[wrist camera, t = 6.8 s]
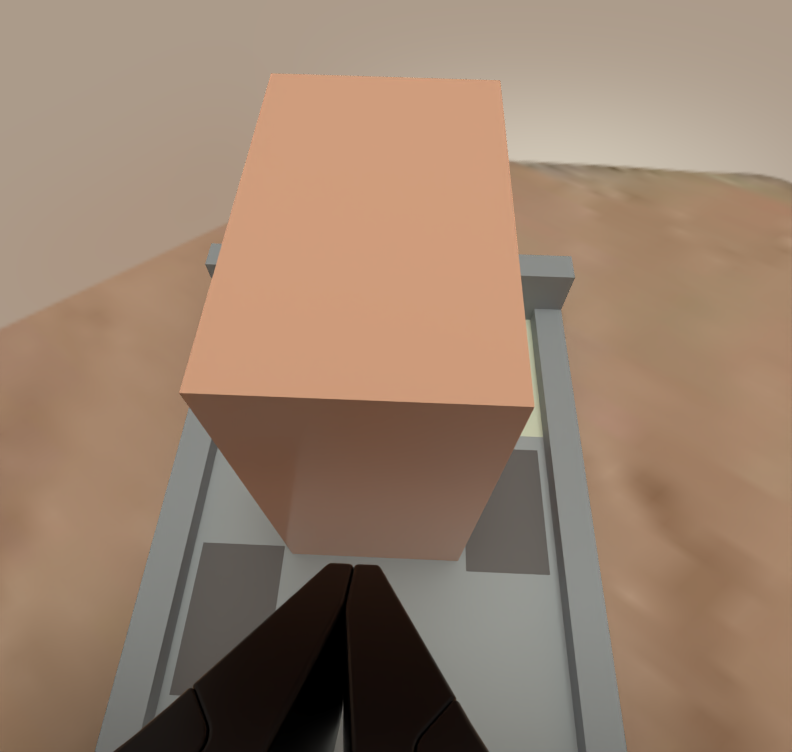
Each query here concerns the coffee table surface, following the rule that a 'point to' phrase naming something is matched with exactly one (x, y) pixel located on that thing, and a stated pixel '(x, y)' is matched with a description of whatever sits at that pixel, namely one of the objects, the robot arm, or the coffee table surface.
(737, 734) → the coffee table surface
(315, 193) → the terracotta block
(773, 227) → the coffee table surface
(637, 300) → the coffee table surface
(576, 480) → the slate lane
